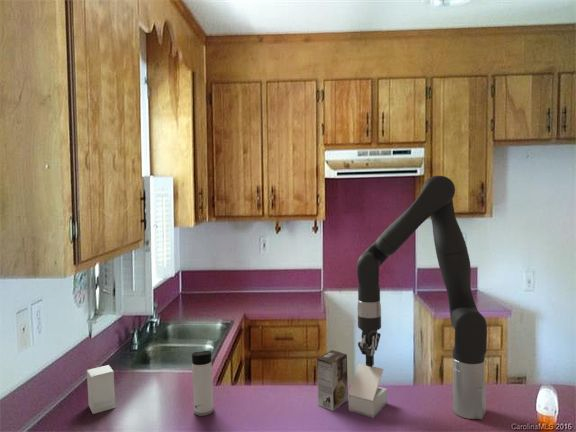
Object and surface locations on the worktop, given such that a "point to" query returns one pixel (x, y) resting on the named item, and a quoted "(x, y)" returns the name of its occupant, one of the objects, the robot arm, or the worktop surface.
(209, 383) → the travel mug
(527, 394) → the worktop surface
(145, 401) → the worktop surface
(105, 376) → the supplement box
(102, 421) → the worktop surface
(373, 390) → the lid
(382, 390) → the white box
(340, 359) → the coffee box
